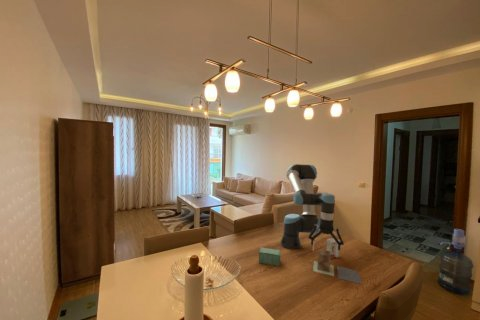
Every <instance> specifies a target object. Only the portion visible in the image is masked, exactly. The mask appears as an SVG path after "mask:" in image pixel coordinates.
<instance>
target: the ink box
mask: <svg viewBox="0 0 480 320" xmlns="http://www.w3.org/2000/svg"><path fill="white" fill-rule="evenodd" d="M338 241H339V242H340V239H338ZM336 246H337V242H336V241H335V240H334V238H333V237H332V238H327V239H326V247H325V250H326V251H330V252H331V259H334V258H333V257H336V258H340V257H339V256H341V246H342V245H340V250H338V256H336Z"/></svg>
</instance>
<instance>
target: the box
mask: <svg viewBox="0 0 480 320" xmlns="http://www.w3.org/2000/svg"><path fill="white" fill-rule="evenodd" d="M259 248H260V249H259V252H258V253H259V254H258V263H259V264H263V265H271V266H277V267H279V266H280V265H281V250H280V249H275V248H267V247H262V246H260V247H259Z"/></svg>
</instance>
